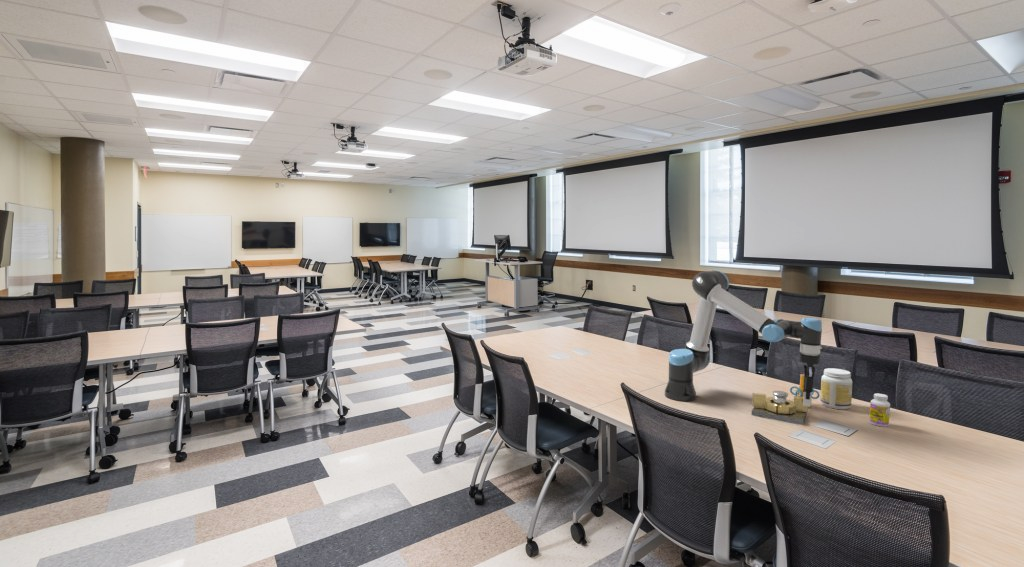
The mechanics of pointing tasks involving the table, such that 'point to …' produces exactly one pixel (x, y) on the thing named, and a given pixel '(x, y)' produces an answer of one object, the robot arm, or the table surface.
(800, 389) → the cylinder
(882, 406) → the supplement bottle
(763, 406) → the tan handled ring
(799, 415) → the flange plate
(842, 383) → the supplement tub
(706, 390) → the table surface
